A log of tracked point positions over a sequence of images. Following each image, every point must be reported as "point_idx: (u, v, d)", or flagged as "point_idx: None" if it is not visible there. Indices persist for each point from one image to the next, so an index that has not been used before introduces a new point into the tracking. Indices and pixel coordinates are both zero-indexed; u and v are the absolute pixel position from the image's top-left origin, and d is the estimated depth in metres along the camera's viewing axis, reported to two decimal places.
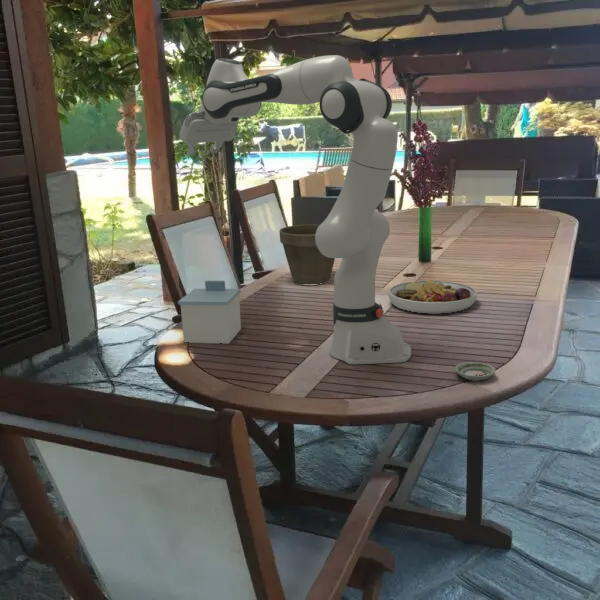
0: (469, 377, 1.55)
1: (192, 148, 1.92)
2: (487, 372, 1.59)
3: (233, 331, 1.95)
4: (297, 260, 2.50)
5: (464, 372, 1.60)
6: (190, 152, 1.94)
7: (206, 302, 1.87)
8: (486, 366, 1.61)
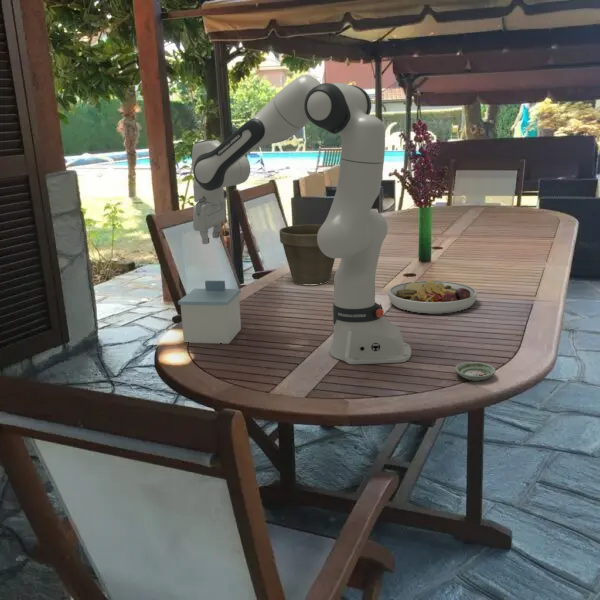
0: (469, 377, 1.55)
1: (207, 235, 1.90)
2: (487, 372, 1.59)
3: (233, 331, 1.95)
4: (297, 260, 2.50)
5: (464, 372, 1.60)
6: (206, 241, 1.91)
7: (206, 302, 1.87)
8: (486, 366, 1.61)
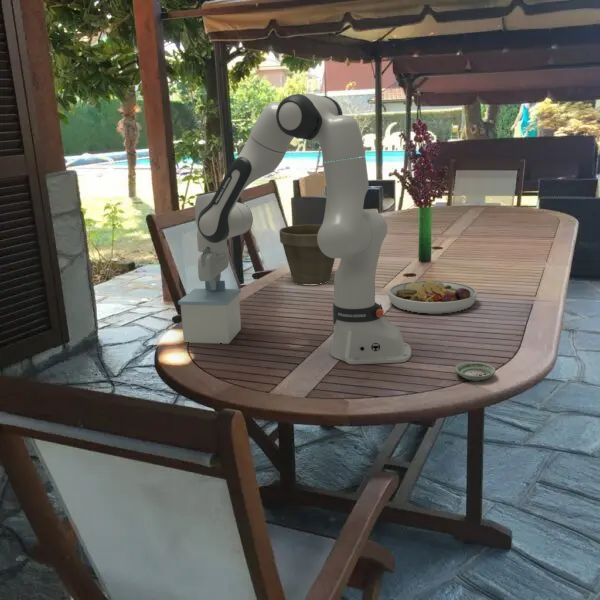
0: (469, 377, 1.55)
1: (215, 282, 1.97)
2: (487, 372, 1.59)
3: (233, 331, 1.95)
4: (297, 260, 2.50)
5: (464, 372, 1.60)
6: (214, 287, 1.97)
7: (206, 302, 1.87)
8: (486, 366, 1.61)
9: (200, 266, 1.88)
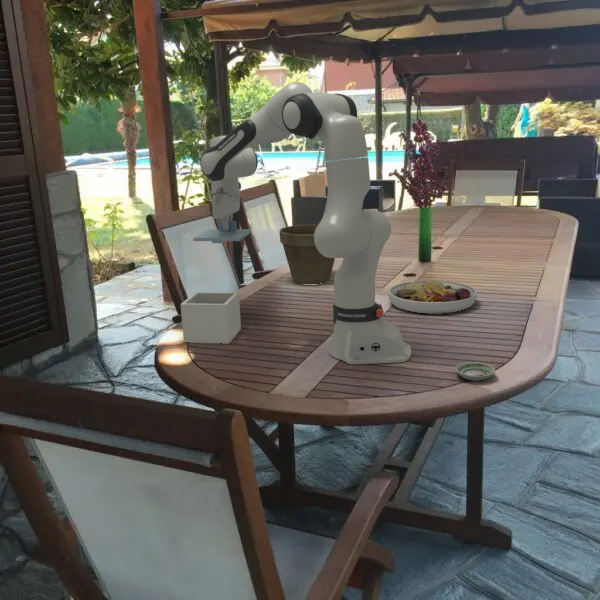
0: (469, 377, 1.55)
1: (228, 222, 2.09)
2: (487, 372, 1.59)
3: (233, 331, 1.95)
4: (297, 260, 2.50)
5: (464, 372, 1.60)
6: (226, 227, 2.10)
7: (220, 238, 2.00)
8: (486, 366, 1.61)
9: (214, 204, 2.01)
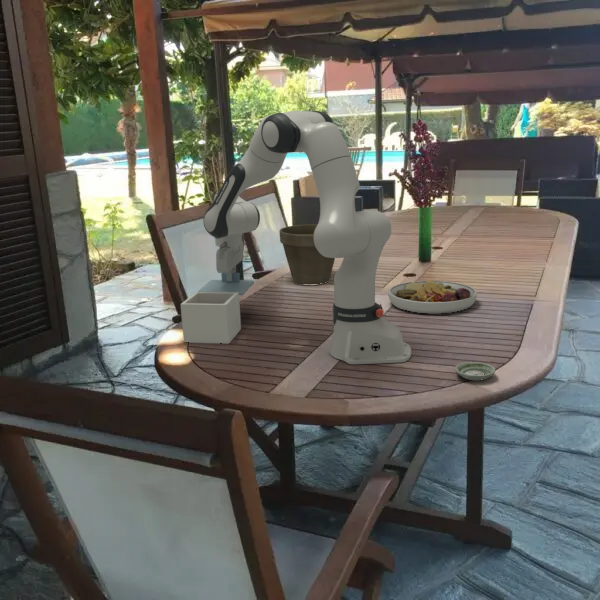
0: (469, 377, 1.55)
1: (231, 274, 2.14)
2: (487, 372, 1.59)
3: (233, 331, 1.95)
4: (297, 260, 2.50)
5: (464, 372, 1.60)
6: (230, 278, 2.15)
7: None
8: (486, 366, 1.61)
9: (218, 259, 2.06)
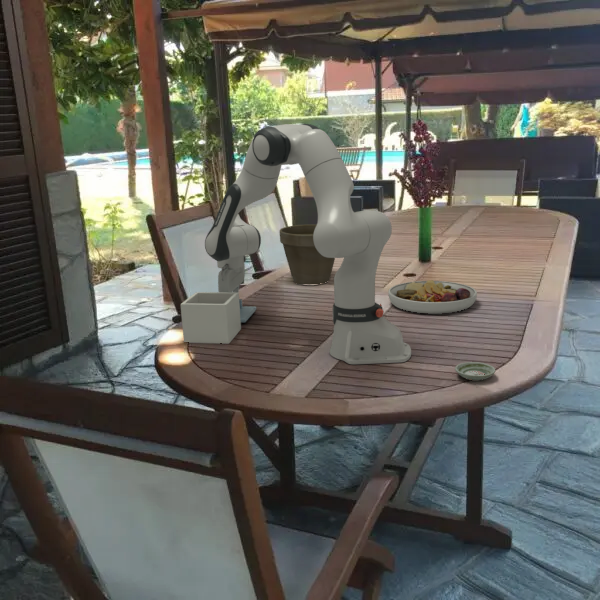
0: (469, 377, 1.55)
1: None
2: (487, 372, 1.59)
3: (233, 331, 1.95)
4: (297, 260, 2.50)
5: (464, 372, 1.60)
6: None
7: None
8: (486, 366, 1.61)
9: (220, 281, 2.08)
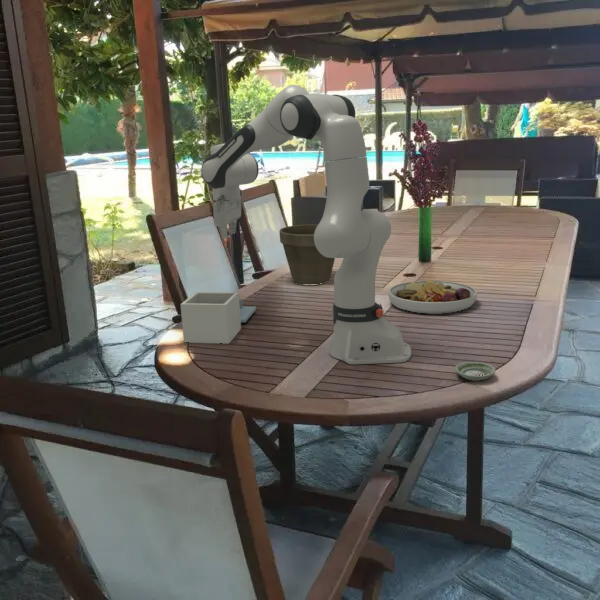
0: (468, 377, 1.55)
1: (226, 230, 2.07)
2: (487, 372, 1.59)
3: (233, 331, 1.95)
4: (297, 260, 2.50)
5: (464, 372, 1.60)
6: (225, 235, 2.07)
7: None
8: (487, 366, 1.61)
9: (215, 212, 2.01)
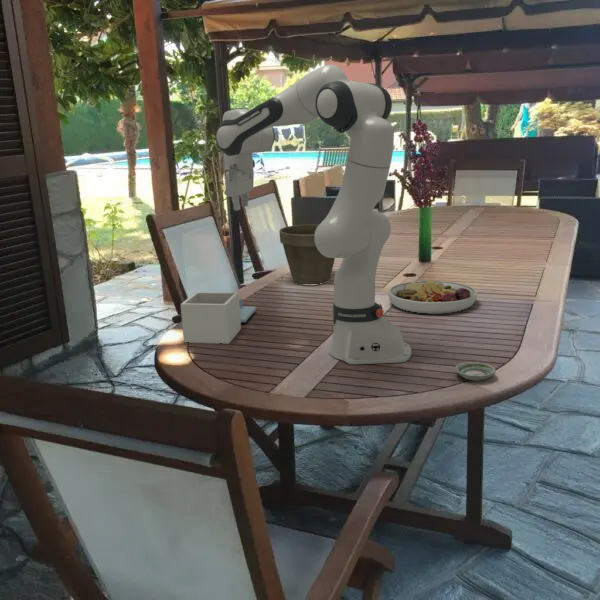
0: (468, 377, 1.55)
1: (238, 202, 1.96)
2: (487, 372, 1.59)
3: (233, 331, 1.95)
4: (297, 260, 2.50)
5: (464, 372, 1.60)
6: (237, 207, 1.97)
7: None
8: (487, 367, 1.60)
9: (228, 181, 1.91)
